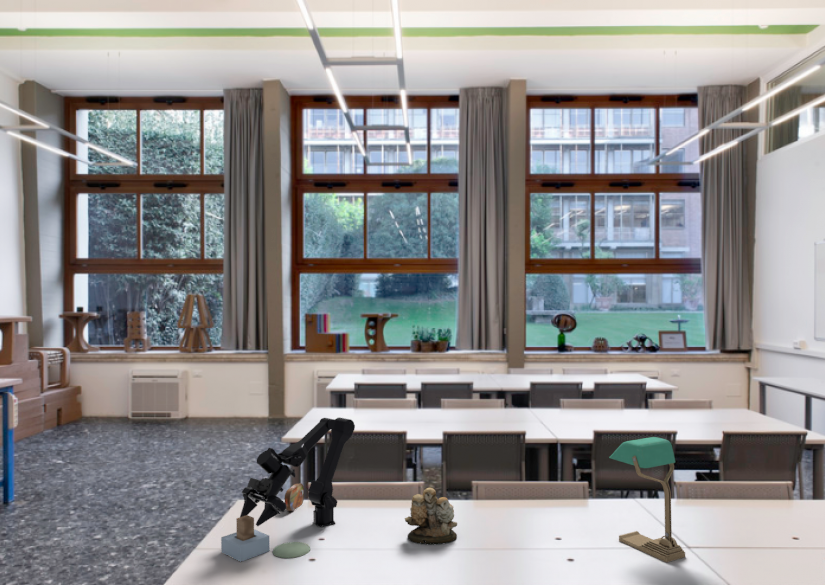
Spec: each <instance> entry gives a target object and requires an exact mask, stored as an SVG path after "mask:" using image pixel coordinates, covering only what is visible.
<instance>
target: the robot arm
mask: <svg viewBox="0 0 825 585" xmlns="http://www.w3.org/2000/svg"><path fill="white" fill-rule="evenodd" d="M355 427H356V425H355V422H354V421H353V420H352V419H351V418H350V419H349V418H344V417H337V418H335V419H334V418H333V419H332V418H328V417H323V418H321V419H320V420H319V422H318V423H317V424H315V426H313V428H311V429H310V430H309V431H308V432H307V433H306V434H305V435H304V436H303V437H302V438H301V439H299V441H298V442H294V443H292V444H290V445H288V446H287V447H286V448H284V449H283V450H282V452H279V453H277V452H276V451H275V449H274V448H273V447H268V448H267V449H266V450H265V451H262V452H261V453H260V454H258V456H257V458H256V464H257V465H258V466H259V467H261V469H263V471H265V473H267V474H270V475H269V476H268V477H265V478H262V479H260V480H259V479H257V478H254V477H250V478H249V481H248V484H247V485H246V486H245V487H244V488H243V489H242V491H241V494H242V497H243V500H244V501H243V506H242V509H241V512H240V516H239V517H243V516H246V515H248V516H249V514H250V513H251V512H252V511H253V510H254V509H255V508H256V507H257V506H258V504H259V503H260V502H263V503H264V506H263V507H264V509H263V510H262V512H261V514H260V516H259V517H258V519H257V520H256V523H255V526H256V527H259V526H261V525H263V524H264V523H265V522H267V521H268V520H270V519H272V518H274V517H275V516H277V515H281V514H284V513H285V511H287V510H286V503H285V501H284V500H283V499H281V498H280V497H279V496H277V495H279V492H280V493H283V491H284V488H283V487H284V485H285V483H286V482H287V481H288V479H289V478H290V477H292V478H296V473H295V471H296V470H295V468H298V467H300V466H301V465H302V464H303V462H304V461H305V460H306V459H307V457H308V453H309V452H310V451H311V449H312V448H313V447H315V445H317V444H318V442H320V440H321V439H323V437H324V436H326V434H328V432H330V434H331V442H330V444H329V448H328V451H327V452H326V456H325V458H324V462H323V464H322V467H321V471H320V473H319V477H318V478H316V480H313V479H312V480H311V482H310V485H309V487H308V489H307V492H308V493H307V497H308V500H309V501H310V503H311V506H314V510H313V514H312V515H313V520H312V521H313V522H314V524H315V525H316V526H317V527H319V528H321V527H324V526H326V527H327V526H330V525H335V524H336V521H335V520H334V518H335V516H334V511H335V510H334V508H336V507H338V506H337V505H338V500H337V499H336V498H335V497H334V496H333V491H334V488H333V478H334V476H335V473H336V470H337V467H338V464H339V461H340V458H341V455H342V452H343V449H344V446H345V444H346V443H347V442H348V440H349V439H351V437H352V435H353V433H354V431H355ZM289 466H290V467H294V468H290V467H289Z"/></svg>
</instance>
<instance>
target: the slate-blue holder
mask: <svg viewBox="0 0 825 585" xmlns="http://www.w3.org/2000/svg"><path fill="white" fill-rule="evenodd" d="M220 541H221V542H220V543H221V544H220V545H221V546H220V548H221V550H220V551H221V552H222V554H223V553H224V554H223V555H225V554H226V555H225V556H227V555H229V556H231V557H233V558H234V559H233V558H232V559H233V560H235V559H236V560H235V561H237V560H238V561H237V562H239V561H240V563H241V561H242V562H244V561H247V560H249V559H251V558H254V557H257V556H260V555H262V554H265V553H267V552H270V535H269V534H267V533H264V532H262V531H259V530H257V529H255V528H254V537H253V538H250V539H248V540H245V541H241V540H239V539H237V531H236V532H233V533H230V534H227V535H224V536H221V538H220ZM221 552H220V553H221ZM229 556H228V557H229ZM231 557H230V558H231Z"/></svg>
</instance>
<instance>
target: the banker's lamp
mask: <svg viewBox="0 0 825 585" xmlns="http://www.w3.org/2000/svg"><path fill="white" fill-rule="evenodd" d="M608 457H609V459H612V460H615V461H618V462H622V463H625V464H628V465H631V466H634V468H635V469H634V470H635V472H636V475H638V476H639V477H641V478H644V479H647V480H651V481H654V482H658V483H660V484H661V485H662V489H663V493H664V494H663V495H664V535H663V536H661V537H658V538H653V539H652V538H650V537H648V536H645V535H644V534H641V533H640V531H638V530H634V531H632V532H628V533H624V534H620V535H618V541H619V542H620V543H623V544H625V545H627V546H629V547H631V548H634V549H636V550H639V551H641V552H643V553H645V554H647V555H649V556H652V557H654V558H656V559H658V560H660V561H662V562H664V563H670V562H672V561H677V560H679V559H682V558H683V559H684V558H686V551H685V550H684V548H682V546H681V545H680V544H678V543H677V540H676V539H675V538H674V537H673V535H672V534H673V533H672V493H671V488H670V484H669V479H670V478H671V476H672V473H673V472H674V470H675V465H674V464H675V463H676V458H675V453H674V450H673V446H672V442H670V441H669V440H668V439H665V438H661V437H658V436H657V437H656V436H651V437H646V438H639V439H632V440H627V441H624V442H622V443H621V444H620V445H619V446H618V447H617V448H616V449H615V450H614V452H613V453H612V454H611V455H610V456H608ZM664 465H665V466H666V465H669V470H668V472H667V474H666V476H665V477H664V479H663V480H661V479H658V478H655V477H652V476H650V475H647V474H644V473H642V472H641V469H650V468H655V467H660V466H664ZM638 476H637V477H638Z"/></svg>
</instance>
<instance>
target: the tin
mask: <svg viewBox="0 0 825 585" xmlns="http://www.w3.org/2000/svg"><path fill="white" fill-rule="evenodd" d="M283 500H284V503H286V510H285V511H288V512H295V511H296V510H297V509H298V508H299V507H300V506H301V505H302V504H303V503H304V501H305V486H304V484H303V483H302V482H301V483H294V484H293V485H292V486H290V488H288V489H287V490H286V491H285V494H284V499H283ZM297 507H298V508H297ZM296 508H297V509H296ZM295 509H296V510H295ZM294 510H295V511H294Z"/></svg>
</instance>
